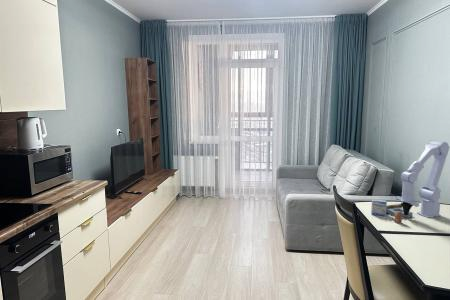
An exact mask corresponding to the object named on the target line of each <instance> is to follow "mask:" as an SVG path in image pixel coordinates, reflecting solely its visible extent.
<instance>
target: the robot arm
mask: <svg viewBox="0 0 450 300" xmlns="http://www.w3.org/2000/svg"><path fill="white" fill-rule="evenodd" d="M424 148H425V149H424V151H423V152H422V154H421V155H420V157H419V158H418V159H417V160H415V161H413V162H412V164H411V165H410V166H409V167H408V169H406V170H404V172H403V171H402V173H401V175H400V180H401V183H402V187H401V188H402V189H401V190H402V191H401V196H399V195H398V196H397V195H396V197H395V200H396V201H400V204H401V205H402V209H403V210H404V215H408V214H409V211H410V210H411V209H412V207H415V208H418V207H420V211H417V212H416V213H417V214H418V215H421V216H424V217H426V218H433V217H434V218H435V217H441V214H440V211H441V210H440V209H441V203H440V201H439V200H440V198H441V189H440V187H439V186H438V185H439V182H440V179H441V176H442V171H443V169H444V166H445V163H446V160H447V158H448V157H447V156H448V154H449V151H450V146H449V144H448V142H446V141H438V140H429V141H428V142H427V143H426V144H425V146H424ZM432 156H433V157H434V159H433V163H432V165H431V168H430V171H429V175H428V179H427V182H425V183H424V184H422V185H421V187H420V189H419V191H418V196H419V197H420V200H421V202H420V203H419V202H417V201H416V200H414V193H415V192H414V190H415V182H417V180H418V177H419V174H420V172H421V171H422V170H423V169H424V164H425V163H426V162H427V161H428V160H429V159H430V158H432ZM410 212H411V211H410Z"/></svg>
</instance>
